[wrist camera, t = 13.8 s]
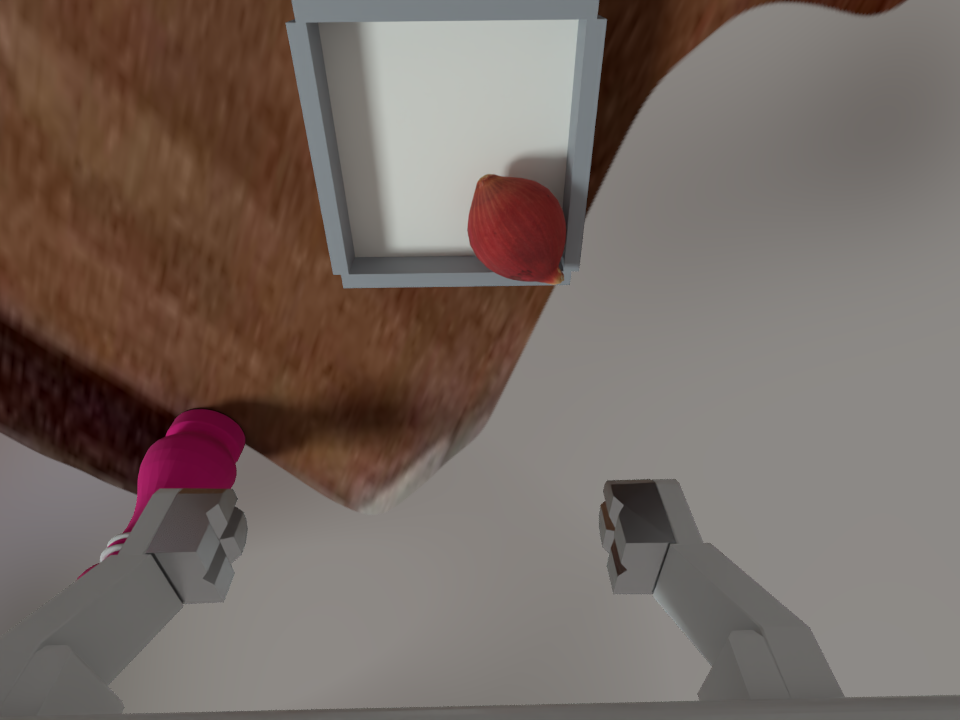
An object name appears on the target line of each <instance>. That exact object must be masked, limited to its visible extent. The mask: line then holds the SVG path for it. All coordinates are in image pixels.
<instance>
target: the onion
mask: <svg viewBox="0 0 960 720" xmlns="http://www.w3.org/2000/svg"><path fill="white" fill-rule="evenodd" d="M467 232H468V237H469V242H470V246H471V248H472V249H473V251H474V253H475V255H476V256H477V258H478V259H479V260H480V261H481V262H482V263H483V264H484V265H485V266H486V267H487V268H488V269H490V270H491V271H493V272H495V273H496V274H498V275H500V276H503V277H505V278H508V279H512V280H517V281H525V282H541V283H547V284H552V285H556V284H560V283H561V282H562V281H564V274H563V272H561V270H560V268H559V263H560V260H561V257H562V254H563V250H564V246H565V240H566V222H565V218H564V213H563V210H562V208H561V206H560V204H559V202H558V200H557V198H556V197H555V196H554V195H553V194H552V192H551V191H550V190H549V189H548V188H546V187H545V186H543V185H541V184H540V183H538V182H536V181H533V180H529V179H524V178H516V177H503V176H498V175H495V174H487V175H484V176H483V177H481V178H480V179H479V180H478V182H477V185H476V188H475V192H474V196H473V199H472V203H471V207H470V211H469V216H468V227H467Z"/></svg>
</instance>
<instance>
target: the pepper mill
mask: <svg viewBox="0 0 960 720" xmlns="http://www.w3.org/2000/svg"><path fill="white" fill-rule="evenodd" d="M244 446H245V436H244V433H243V431H242V429H241V428H240V426H239V425H238V424H237V423H236V422H234V421H233V420H232V419H231V418H229V417H228V416H226V415H224V414H221V413H219V412H216V411H212V410H206V409H193V410H189V411H186V412H183V413H182V414H180V415H179V416H178V417H177V418H176V419H175V420H174V422H173V424H172V425H171V427H170V428H169V430H168V431H167V434H166V437H164V438H162V439H160V440H158V441H156V442H155V443H154V444H153V445H152V446H151V447H150V448H149V450H148V451H147V453H146V455H145V457H144V459H143V461H142V463H141V467H140V471H139V475H138V496H137V503H136V508H135V511H134V515H133V517H132V519H131V521H130V523H129V525H128V527H127V528H126V529H125V531H124V532H123V533H122V534H119V535H116V536H115V537H113V538H112V539H111V540H110V541H109V543H108V545H107V548H106V549H105V550H104V551H103V552H102V554H101V557H100V562H102V561H103V560H105V559H106V558H107V557H109V556H110V555H118V553H119V551H120V550H121V548H122V546H123V545H124V543H125V541H126V539H127V538H128V536H129V534H130V533H131V531H132V529H133V527H134V526H135V524H136V522H137V521H138V519H139V517H140V515H141V514H142V512H143V510H144V509H145V507H146V505H147V503H148V502H149V500H150V498H151V497H152V495H153V494H154V493H155V492H156V491H158V490H159V489H169V488H210V489H231V487H232V485H233V484H234V482H235V478H236V465H235V463H236V462H237V461H238V459H239V457H240V454H241V453H242V450H243V448H244ZM98 564H99V563H98ZM98 564H96V565H98ZM96 565H93V566H92V567H90V568H89V569H87V570H86V571H85V572H83V573H82V574H81V575H80V576H79V577H78V578H77V580H78V579H79V578H80V577H82V576H83V575H84V574H86V573H87V572H88V571H90V570H91V569H92V568H94V567H95V566H96Z"/></svg>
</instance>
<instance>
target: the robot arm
mask: <svg viewBox="0 0 960 720" xmlns="http://www.w3.org/2000/svg"><path fill="white" fill-rule="evenodd" d="M603 493H604V497H605V502H603V504H601V505H600V512H599V530H600V537H601V542H602V547H603V548H604V549H605V550H606V551H607V552H608V553H609V557H608V562H607V569H608V573H609V577H610V581H611V585H612V590H613V594H653V597H654V598H655V600H656V601H657V602H658V603H659V604H660V606H661V607H662V608H663V609H664V610H665V612H666V613H667V614H668V615H669V616H670V617H671V618H672V620H673V621H674V622H675V623H676V625H678V627H679V628H680V629H681V630H682V632H683V633H684V634H685V635H686V636H687V638H688V639H689V640H690V641H691V642H692V643H693V644H694V646H695V647H696V648H697V649H698V651H699V652H700V653H701V654H702V655H703V656H704V658H705V659H706V660H707V661H708V662H709V664H710V665H711V666H712V668H711V670H710V672H709V674H708V675H707V677H706V679H705V681H704V683H703V685H702V687H701V688H700V690H699V692H698V697H699V701H670V702H627V703H626V702H625V703H582V704H581V703H580V704H541V705H540V704H539V705H538V704H537V705H493V706H491V705H490V706H450V707H449V706H447V707H404V708H403V707H401V708H359V709H358V708H356V709H315V710H314V709H311V710H268V711H226V712H225V711H224V712H185V713H184V712H180V713H138V714H122V711H123V709H124V705H123V702H122V700H121V699H120V698H119V697H118V696H117V695H116V694H115V693H114V692H113V691H112V690H111V689H110V688H109V687H108V685H109V684H110V683H111V682H112V681H113V680H114V679H115V678H116V677H117V676H118V675H119V674H120V672H121V671H122V670H123V669H124V668H125V667H126V666H127V665H128V664H129V663H130V662H131V661H132V660H133V659H134V658H135V657H136V656H137V655H138V654H139V652H141V651H142V649H143V648H144V647H145V646H146V645H147V644H148V643H149V642H150V641H151V640H152V639H153V638H154V637H155V636H156V635H157V634H158V633H159V632H160V631H161V629H162V628H163V627H164V626H165V625H166V624H167V623H168V622H169V621H170V620H171V619H172V618H173V617H174V616H175V615H176V614H177V613H178V612H179V611H180V610H181V609H182V608H183V604H193V603H215V602H224V600H225V597H226V595H227V592H228V590H229V587H230V584H231V582H232V579H233V576H234V570H233V568H232V565H231V563H233V562H234V561H235V560H236V559H237V558H238V557H239V556H241V555H242V552H243V549H244V547H245V544H246V538H247V530H248V528H247V520H246V517H245V515H244V512H243V511H241V510H240V509H238V508H237V507H235V505H236V502H237V500H238V498H237V496H236V494H235V492H234V490H233V489H210V488H169V489H159V490H158V491H156V492H155V493H154V494H153V495H152V497H151V498H150V500H149V502H148V503H147V505H146V507H145V509H144V510H143V512H142V514H141V515H140V517H139V519H138V521H137V522H136V524H135V526H134V527H133V529H132V531H131V533H130V534H129V536H128V538H127V539H126V541H125V543H124V545H123V546H122V548H121V550H120V551H119V553H118V555H110V556H109V557H107V558H106V559H105V560H103V561H102V562H100V563H99V564H98V565H96V566H95V567H94V568H92V569H91V570H90V571H88V572H87V573H86V574H84V575H83V576H82V577H80V578H79V579H78V580H76V581H75V582H73V583H72V584H71V585H69V586H68V587H67V588H65V589H64V590H63V591H61V592H60V593H59V594H57V595H56V596H55V597H54V598H52V599H51V600H49V601H48V602H46V603H45V604H44V605H42V606H41V607H40V608H39V609H37V610H36V611H34V612H33V613H32V614H30V615H29V616H28V617H26V618H25V619H24V620H22V621H21V622H19V623H18V624H17V625H15V626H14V627H13V628H12V629H10V630H9V631H7V632H6V633H5V634H3V635H2V636H1V637H0V720H960V695H933V696H889V697H888V696H887V697H845V696H844V694H843V693H842V690H841V688H840V687H839V685H838V682H837V681H836V679H835V677H834V675H833V673H832V671H831V669H830V667H829V665H828V663H827V661H826V659H825V657H824V655H823V653H822V651H821V649H820V647H819V645H818V643H817V641H816V639H815V637H814V635H813V633H812V631H811V629H810V627H808V626H807V625H806V624H805V623H804V622H803V621H802V620H800V619H799V618H798V617H797V616H796V615H794V614H793V613H792V612H791V611H789V609H787V608H786V607H785V606H784V605H782V604H781V603H780V602H779V601H778V600H777V599H775V598H774V597H773V596H772V595H771V594H770V593H769V592H767V591H766V590H765V589H764V588H763V587H762V586H760V585H759V584H758V583H757V582H756V581H754V580H753V579H752V578H751V577H750V576H748V575H747V574H746V573H745V572H744V571H743V570H741V569H740V568H739V567H738V566H737V565H736V564H734V563H733V562H732V561H731V560H730V559H729V558H727V557H726V556H725V555H724V554H723V553H722V552H720V551H719V550H718V549H717V548H716V547H714V546H713V545H712V544H711V543H703V541H702V538H701V536H700V533H699V531H698V528H697V526H696V523H695V521H694V518H693V516H692V513H691V511H690V509H689V506H688V504H687V501H686V499H685V496H684V494H683V491H682V489H681V486H680V484H679V482H678V481H677V480H676V479H660V480H650V479H641V480H612V481H606V483H605V485H604V490H603Z"/></svg>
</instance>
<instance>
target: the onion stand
mask: <svg viewBox="0 0 960 720" xmlns="http://www.w3.org/2000/svg"><path fill="white" fill-rule="evenodd" d="M292 5H293V10H294V16H295V19H294V20H292V21H289V22H286V27H287V33H288V38H289V43H290V48H291V54H292V59H293V64H294V70H295V75H296V80H297V85H298V91H299V96H300V101H301V107H302V112H303V117H304V122H305V128H306V133H307V138H308V143H309V149H310V154H311V159H312V165H313V170H314V175H315V180H316V186H317V191H318V196H319V201H320V207H321V212H322V217H323V223H324V228H325V233H326V238H327V244H328V249H329V254H330V259H331V265H332V270H333V275H341V277H342V282H343V288H383V287H454V286H525V285H552V284H547V283H541V282H525V281H517V280H512V279H508V278H505V277H503V276H500V275H498V274H496V273H495V272H493V271H491V270H490V269H488V268H487V267H486V266H485V265H484V264H483V263H482V262H481V261H480V260H479V259H478V258H477V256H476V255H475V253H474V251H473V249H472V248H471V246H470V242H469V237H468V232H467V227H468V216H469V211H470V207H471V203H472V199H473V196H474V192H475V188H476V185H477V182H478V180H479V179H480V178H481V177H483V176H484V175H487V174H495V175H498V176H503V177H516V178H524V179H529V180H533V181H536V182H538V183H540V184H541V185H543V186H545V187H546V188H548V189H549V190H550V191H551V192H552V194H553V195H554V196H555V197H556V198H557V200H558V202H559V204H560V206H561V208H562V210H563V213H564V218H565V222H566V240H565V246H564V250H563V254H562V257H561V260H560V263H559V268H560V270H561V272H563V274H564V281H562V282H561V283H560V284H556V285H570V278H571V271H579V266H580V257H581V248H582V239H583V229H584V221H585V212H586V203H587V194H588V185H589V176H590V167H591V158H592V149H593V140H594V131H595V122H596V113H597V104H598V95H599V86H600V78H601V69H602V60H603V51H604V42H605V33H606V24H607V19H606V18H604V17H602V16H600V15H598V6H599V0H292Z"/></svg>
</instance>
